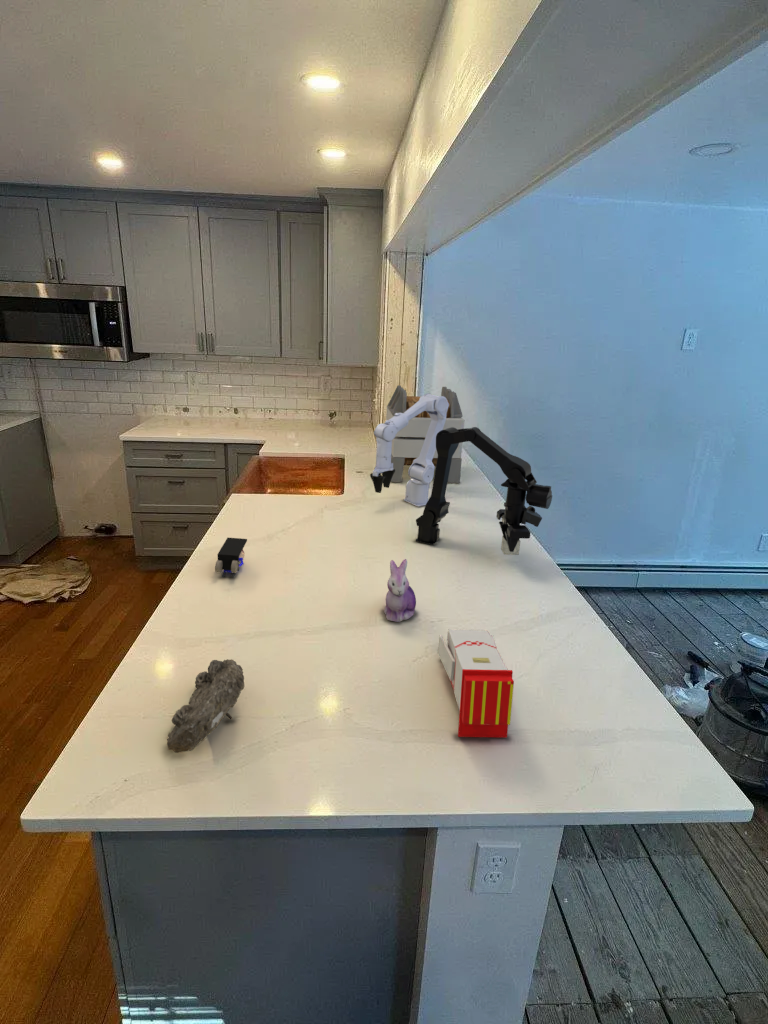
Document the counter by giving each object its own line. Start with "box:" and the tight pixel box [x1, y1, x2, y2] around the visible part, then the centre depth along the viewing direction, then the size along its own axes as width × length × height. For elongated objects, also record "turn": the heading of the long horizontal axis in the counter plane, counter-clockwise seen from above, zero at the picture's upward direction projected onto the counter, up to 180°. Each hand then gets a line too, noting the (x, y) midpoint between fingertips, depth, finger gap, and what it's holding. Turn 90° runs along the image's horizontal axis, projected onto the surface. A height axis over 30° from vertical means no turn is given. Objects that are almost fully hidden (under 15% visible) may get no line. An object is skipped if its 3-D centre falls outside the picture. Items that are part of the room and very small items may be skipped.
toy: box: [437, 628, 515, 738], centre depth 117 cm, size 12×13×30 cm
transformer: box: [385, 384, 465, 484], centre depth 268 cm, size 34×33×41 cm
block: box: [500, 535, 521, 556], centre depth 179 cm, size 5×4×5 cm
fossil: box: [166, 658, 245, 754], centre depth 106 cm, size 22×10×15 cm
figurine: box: [384, 558, 417, 623], centre depth 145 cm, size 9×10×15 cm
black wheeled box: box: [214, 537, 248, 578], centre depth 166 cm, size 7×8×15 cm
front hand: (509, 548), depth 180 cm, fingers closed on block, 4 cm apart
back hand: (382, 489), depth 220 cm, fingers open, 7 cm apart
